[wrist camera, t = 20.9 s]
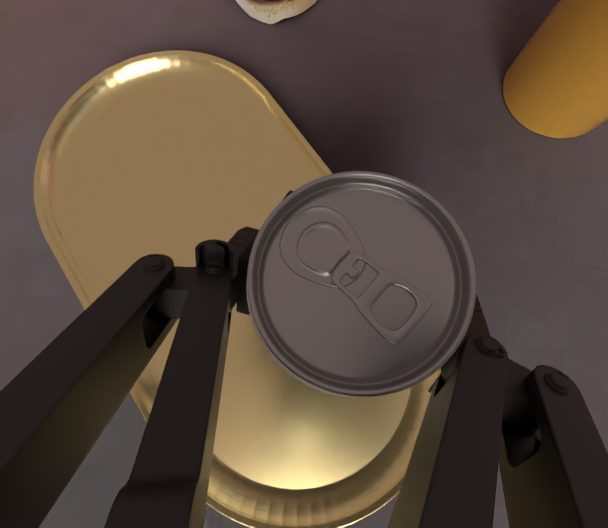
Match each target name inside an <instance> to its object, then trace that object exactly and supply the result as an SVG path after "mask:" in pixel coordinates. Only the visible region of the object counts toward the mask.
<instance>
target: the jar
mask: <svg viewBox="0 0 608 528" xmlns="http://www.w3.org/2000/svg"><path fill="white" fill-rule="evenodd" d="M503 96H504V100H505V103H506V105H507V107H508V109H509V111H510V113H511V114H512V115H513V117H514V118H515V119H516V120H517V121H518V122H519V123H520V124H522V125H523V126H524V127H526V128H527V129H529V130H531V131H533V132H535V133H537V134H540V135H543V136H547V137H551V138H572V137H576V136H580V135H583V134H586V133H588V132H590V131H592V130H593V129H595V128H596V127H598V126H599V125H601V124H602V123H604V122H605V121H606V120H608V0H559V1H558V2H557V4H556V5H555V6H554V8H553V9H552V10H551V12H550V13H549V14H548V16H547V17H546V18H545V19H544V21H543V22H542V23H541V25H540V26H539V27H538V29H537V30H536V31H535V33H534V34H533V35H532V37H531V38H530V39H529V41H528V42H527V43H526V45H525V46H524V47H523V49H522V50H521V51H520V53H519V54H518V55H517V57H516V58H515V59H514V61H513V62H512V63H511V65H510V66H509V68H508V70H507V72H506V74H505V77H504V81H503Z"/></svg>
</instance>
